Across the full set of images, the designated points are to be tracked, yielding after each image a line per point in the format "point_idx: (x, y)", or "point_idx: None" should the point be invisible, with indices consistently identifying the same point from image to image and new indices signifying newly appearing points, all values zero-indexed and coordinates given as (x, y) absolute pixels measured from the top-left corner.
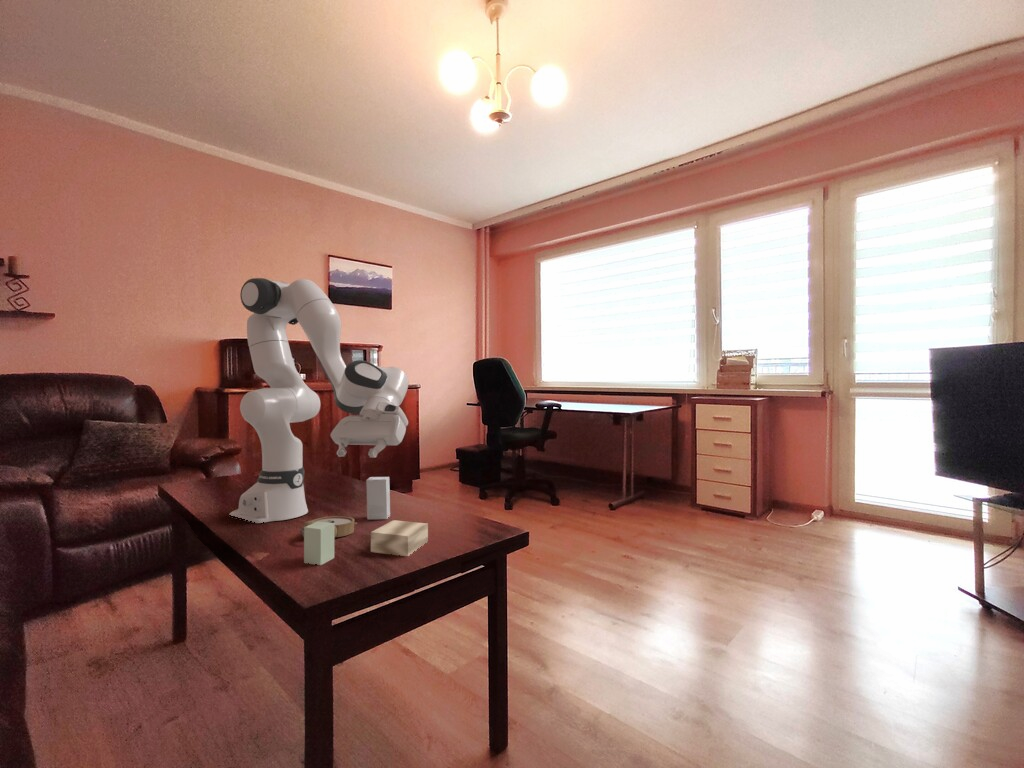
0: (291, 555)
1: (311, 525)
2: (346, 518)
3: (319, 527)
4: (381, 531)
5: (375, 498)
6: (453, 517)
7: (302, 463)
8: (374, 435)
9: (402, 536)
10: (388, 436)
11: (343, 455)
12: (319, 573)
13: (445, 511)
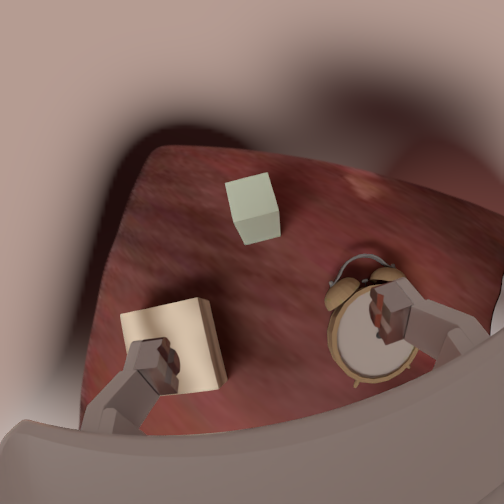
0: (322, 211)
1: (264, 185)
2: (381, 376)
3: (236, 187)
4: (180, 312)
5: None
6: None
7: None
8: (126, 449)
9: (130, 312)
10: (33, 426)
11: (370, 309)
12: (212, 194)
13: None
